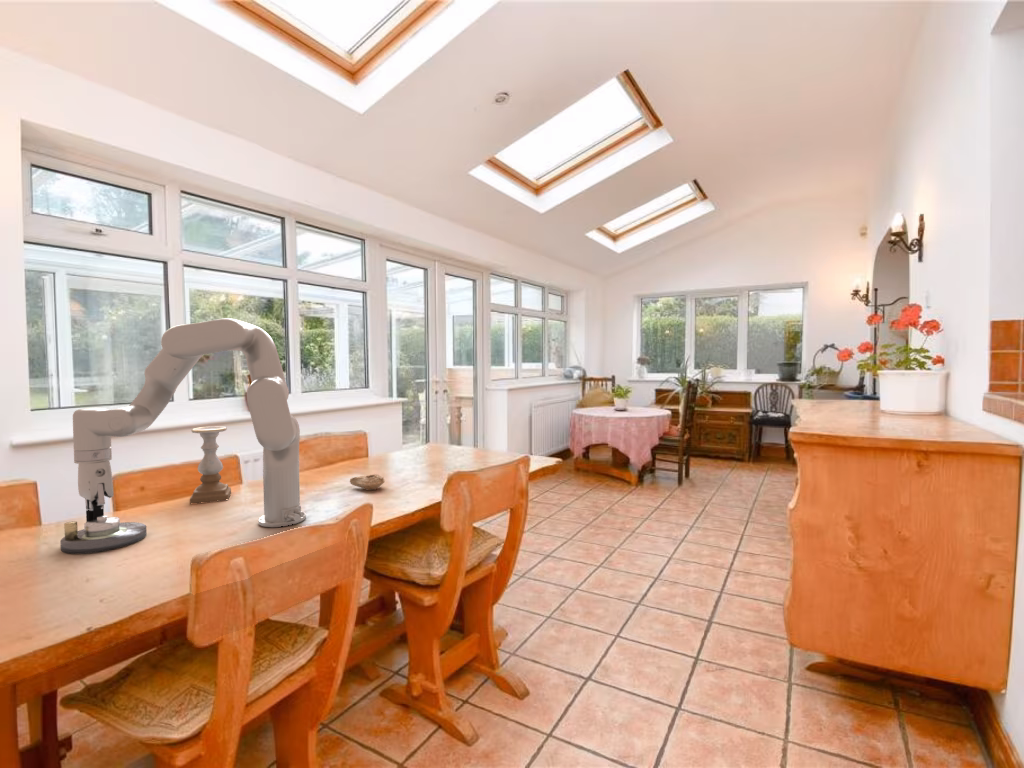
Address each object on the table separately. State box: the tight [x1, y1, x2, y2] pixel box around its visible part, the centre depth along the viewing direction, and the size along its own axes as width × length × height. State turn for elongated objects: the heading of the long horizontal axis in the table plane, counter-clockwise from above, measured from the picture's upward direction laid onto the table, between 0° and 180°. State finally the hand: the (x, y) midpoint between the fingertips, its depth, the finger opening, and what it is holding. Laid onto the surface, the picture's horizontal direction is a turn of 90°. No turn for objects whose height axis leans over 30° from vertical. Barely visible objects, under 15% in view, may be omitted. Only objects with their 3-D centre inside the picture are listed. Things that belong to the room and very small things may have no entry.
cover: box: [83, 514, 121, 537], centre depth 127 cm, size 7×7×4 cm
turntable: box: [60, 520, 147, 555], centre depth 126 cm, size 17×17×6 cm
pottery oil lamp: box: [349, 473, 386, 491], centre depth 179 cm, size 9×12×7 cm
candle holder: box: [189, 425, 232, 505], centre depth 166 cm, size 11×11×24 cm
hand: (95, 524), depth 130 cm, fingers closed
